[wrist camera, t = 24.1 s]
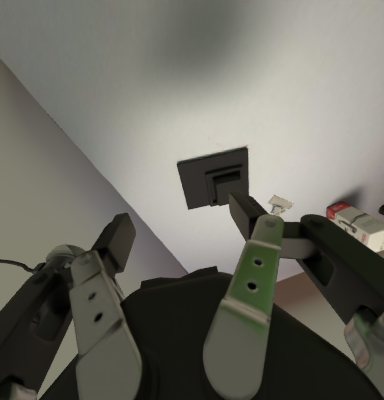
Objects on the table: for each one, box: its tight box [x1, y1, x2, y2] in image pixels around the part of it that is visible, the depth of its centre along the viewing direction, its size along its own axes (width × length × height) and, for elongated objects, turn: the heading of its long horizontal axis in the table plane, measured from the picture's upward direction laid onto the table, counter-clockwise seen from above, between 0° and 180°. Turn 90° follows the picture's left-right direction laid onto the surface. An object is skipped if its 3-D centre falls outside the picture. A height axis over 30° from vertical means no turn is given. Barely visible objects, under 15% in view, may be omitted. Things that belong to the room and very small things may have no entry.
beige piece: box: [268, 195, 294, 217], centre depth 43 cm, size 7×12×2 cm, turn 155°
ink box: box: [327, 202, 384, 252], centre depth 41 cm, size 9×5×12 cm, turn 25°
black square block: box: [212, 173, 242, 206], centre depth 35 cm, size 6×6×4 cm
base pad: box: [177, 149, 249, 210], centre depth 36 cm, size 16×12×2 cm
